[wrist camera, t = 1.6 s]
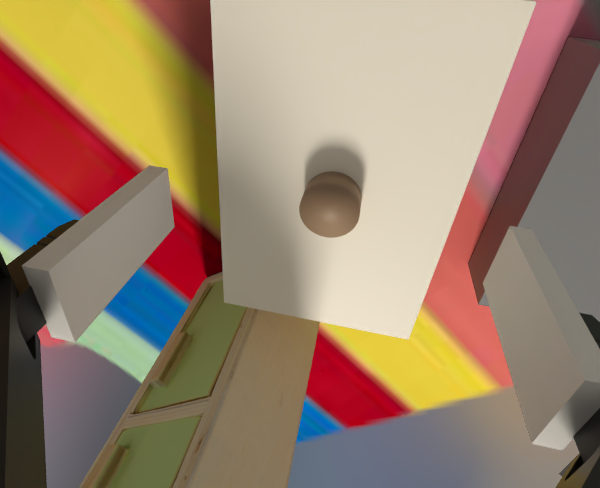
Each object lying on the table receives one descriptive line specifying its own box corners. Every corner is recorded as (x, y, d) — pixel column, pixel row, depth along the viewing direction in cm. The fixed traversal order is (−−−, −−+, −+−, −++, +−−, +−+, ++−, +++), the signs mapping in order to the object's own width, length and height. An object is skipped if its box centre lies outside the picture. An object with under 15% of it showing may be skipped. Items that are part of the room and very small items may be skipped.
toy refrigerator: (278, 237, 29) (116, 624, 12) (325, 306, 32) (251, 690, 15) (198, 269, 32) (-14, 605, 15) (248, 328, 35) (118, 661, 18)
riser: (568, 36, 18) (605, 51, 15) (729, 55, 18) (803, 75, 15) (468, 264, 27) (478, 304, 24) (574, 283, 26) (600, 327, 23)
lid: (233, -35, 14) (193, -35, 11) (515, -4, 13) (550, 4, 10) (237, 274, 23) (216, 318, 20) (406, 307, 22) (409, 358, 19)
